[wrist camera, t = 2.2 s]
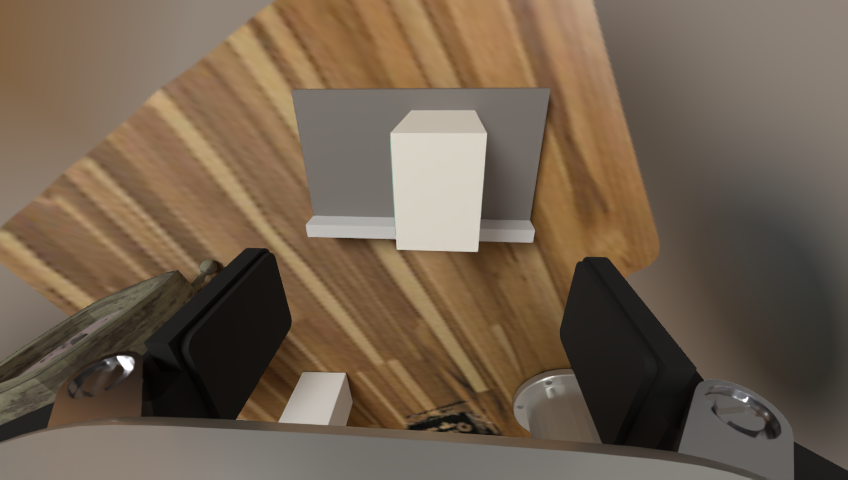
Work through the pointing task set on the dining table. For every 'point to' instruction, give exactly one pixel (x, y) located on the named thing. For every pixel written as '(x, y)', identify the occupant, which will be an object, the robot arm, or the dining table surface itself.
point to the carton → (438, 180)
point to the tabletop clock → (91, 339)
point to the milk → (319, 400)
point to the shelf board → (371, 155)
